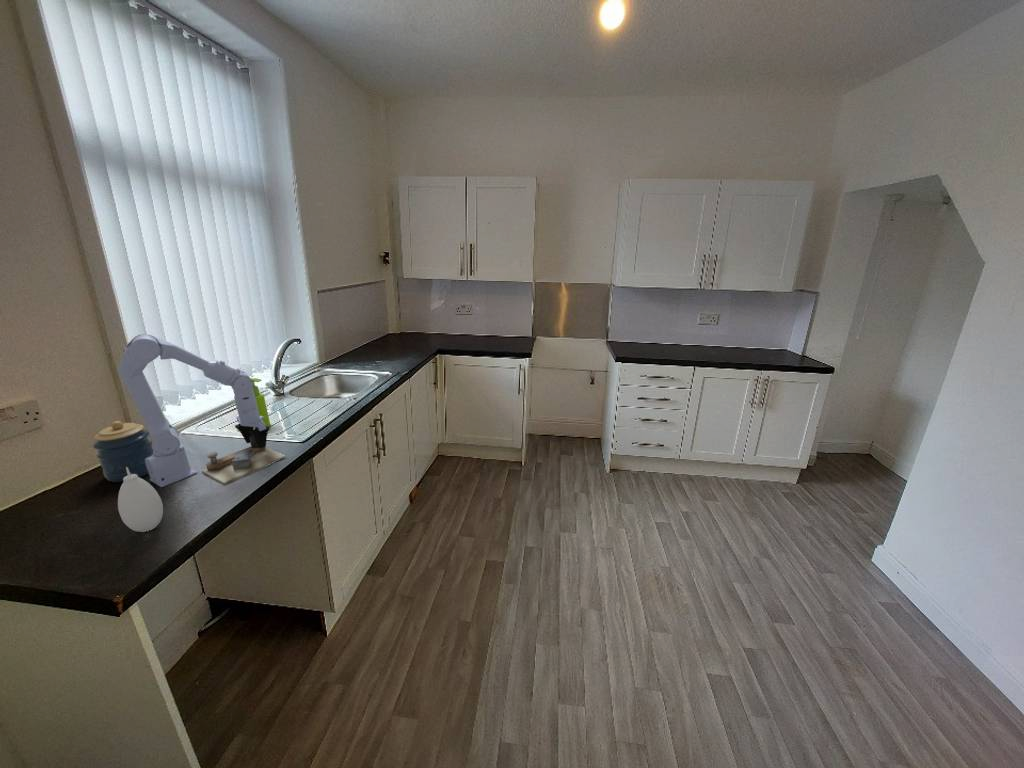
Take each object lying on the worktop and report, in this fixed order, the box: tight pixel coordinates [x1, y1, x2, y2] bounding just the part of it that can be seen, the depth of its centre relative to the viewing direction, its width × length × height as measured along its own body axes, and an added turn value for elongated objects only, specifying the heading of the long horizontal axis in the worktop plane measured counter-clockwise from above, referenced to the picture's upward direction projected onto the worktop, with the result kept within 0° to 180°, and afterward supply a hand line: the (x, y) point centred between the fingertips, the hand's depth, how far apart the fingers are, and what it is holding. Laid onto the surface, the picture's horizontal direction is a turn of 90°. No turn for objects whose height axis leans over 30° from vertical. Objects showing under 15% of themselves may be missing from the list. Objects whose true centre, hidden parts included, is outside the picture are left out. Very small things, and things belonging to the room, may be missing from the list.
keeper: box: [231, 450, 254, 470], centre depth 130 cm, size 6×4×4 cm
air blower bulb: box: [117, 467, 164, 533], centre depth 99 cm, size 8×8×18 cm
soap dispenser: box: [250, 377, 271, 430], centre depth 157 cm, size 6×7×20 cm
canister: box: [92, 420, 154, 483], centre depth 126 cm, size 13×13×18 cm
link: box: [205, 435, 266, 470], centre depth 133 cm, size 17×4×5 cm, turn 149°
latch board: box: [201, 447, 287, 485], centre depth 132 cm, size 19×14×1 cm
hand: (256, 444), depth 139 cm, fingers open, 7 cm apart
